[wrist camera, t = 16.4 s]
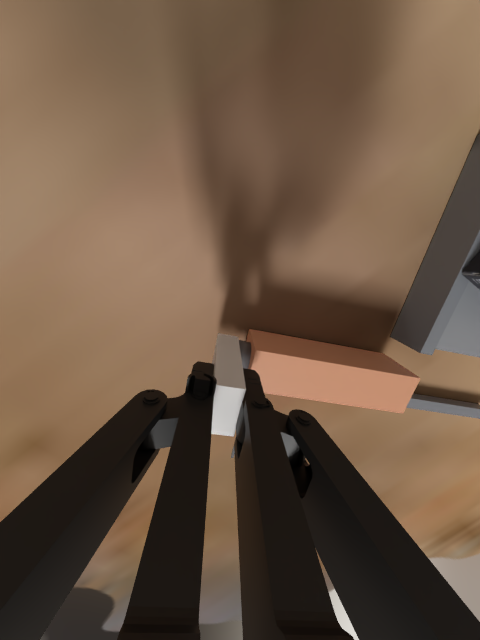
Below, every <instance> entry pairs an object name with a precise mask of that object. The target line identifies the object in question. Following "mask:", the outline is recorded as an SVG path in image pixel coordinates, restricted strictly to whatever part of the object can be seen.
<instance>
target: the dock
mask: <svg viewBox="0 0 480 640" xmlns="http://www.w3.org/2000/svg"><path fill="white" fill-rule="evenodd" d="M479 251H480V134H478V135H477V137H476V140H475V142H474V144H473V146H472V149H471V151H470V153H469V156H468V158H467V160H466V163H465V165H464V167H463V170H462V172H461V174H460V176H459V179H458V181H457V183H456V186H455V188H454V190H453V193H452V195H451V197H450V200H449V202H448V204H447V206H446V209H445V211H444V213H443V216H442V218H441V220H440V223H439V225H438V227H437V230H436V232H435V234H434V237H433V239H432V241H431V243H430V246H429V248H428V250H427V253H426V255H425V257H424V260H423V262H422V264H421V267H420V269H419V271H418V273H417V276H416V278H415V280H414V283H413V285H412V287H411V290H410V292H409V294H408V297H407V299H406V301H405V303H404V306H403V308H402V310H401V313H400V315H399V317H398V320H397V322H396V324H395V327H394V329H393V331H392V333H391V336H390V337H392V338H393V339H395V340H397V341H399V342H401V343H403V344H405V345H406V346H408V347H410V348H412V349H414V350H416V351H417V352H419V353H423V354H428V355H432V354H433V352H434V350H435V349H438V350H443V351H449V352H454V353H459V354H464V355H469V356H475V357H480V290H479V289H478V288H477V287H476V286H475V285H473V284H472V283H471V282H470V281H469V280H468V279H467V278H466V277H464V276H463V275H462V272H463V270H464V269H465V268H466V267H467V265H468V264H469V263H470V262H471V261H472V260H473V258H474V257H475V256H476V255H477V254H478V253H479ZM406 408H413V409H420V410H426V411H433V412H439V413H446V414H453V415H459V416H466V417H472V418H479V419H480V405H479V404H476V403H470V402H464V401H457V400H451V399H445V398H439V397H433V396H426V395H420V394H414V393H413V395H412V397H411V399H410V401H409V403H408V405H407V407H406Z"/></svg>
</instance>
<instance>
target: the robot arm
mask: <svg viewBox="0 0 480 640" xmlns="http://www.w3.org/2000/svg"><path fill="white" fill-rule="evenodd" d="M235 430H236V435H237V436H236V440H235V443H234V447H233V451H232V455H231V458H233V457H234V454H235V472H236V494H237V516H238V538H239V560H240V582H241V604H242V626H243V640H354V639H353V637H352V636H351V635H349V633H347V632H346V631H345V630H343V629H342V628H341V626H340V624H339V623H338V621H337V618H336V616H335V613H334V610H333V606H332V603H331V599H330V596H329V593H328V589H327V586H326V583H325V579H324V576H323V573H322V569H321V566H320V563H319V559H318V556H317V552H318V554H319V556H320V559H321V561H322V563H323V565H324V567H325V569H326V571H327V573H328V575H329V577H330V579H331V582H332V584H333V586H334V588H335V590H336V592H337V594H338V596H339V598H340V600H341V602H342V605H343V607H344V609H345V611H346V613H347V615H348V617H349V619H350V621H351V623H352V625H353V627H354V630H355V632H356V634H357V636H358V638H359V640H480V622H479V621H478V620H477V618H476V617H475V616H474V615H473V613H472V612H471V611H470V610H469V608H468V607H467V606H466V605H465V603H464V602H463V601H462V600H461V598H460V597H459V596H458V595H457V594H456V592H455V591H454V590H453V589H452V587H451V586H450V585H449V584H448V582H447V581H446V580H445V579H444V577H443V576H442V575H441V574H440V572H439V571H438V570H437V569H436V568H435V566H434V565H433V564H432V563H431V561H430V560H429V559H428V558H427V556H426V555H425V554H424V553H423V551H422V550H421V549H420V548H419V547H418V545H417V544H416V543H415V542H414V540H413V539H412V538H411V537H410V535H409V534H408V533H407V532H406V530H405V529H404V528H403V527H402V525H401V524H400V523H399V522H398V521H397V519H396V518H395V517H394V516H393V514H392V513H391V512H390V511H389V509H388V508H387V507H386V506H385V504H384V503H383V502H382V501H381V500H380V498H379V497H378V496H377V495H376V493H375V492H374V491H373V490H372V488H371V487H370V486H369V485H368V483H367V482H366V481H365V480H364V479H363V477H362V476H361V475H360V474H359V472H358V471H357V470H356V469H355V467H354V466H353V465H352V464H351V462H350V461H349V460H348V459H347V458H346V456H345V455H344V454H343V453H342V451H341V450H340V449H339V448H338V446H337V445H336V444H335V443H334V441H333V440H332V439H331V438H330V437H329V435H328V434H327V433H326V432H325V430H324V429H323V428H322V427H321V425H320V424H319V423H318V422H317V420H316V419H315V418H314V417H313V416H312V415H310V414H309V413H307V412H305V411H302V410H297V409H296V410H292V411H291V412H290V413H289V416H288V415H285V414H283V413H280V412H278V411H276V410H274V408H273V405H272V403H271V402H270V401H269V400H268V399H267V398H265V395H264V391H263V387H262V384H261V381H260V376H259V374H258V373H257V372H256V371H255V370H251V369H245V368H243V366H242V359H241V352H240V346H239V339H238V337H237V336H232V335H226V334H221V333H218V336H217V341H216V346H215V351H214V356H213V361H212V364H211V363H205V362H199V361H198V362H197V363H195V364H194V365H193V369H192V373H191V374H190V375H189V376H188V379H187V385H186V391H185V393H184V394H183V395H181V396H179V397H176V398H167V396H166V395H165V394H164V393H163V392H161V391H159V390H145V391H142V392H140V393H138V394H137V395H136V396H135V397H134V398H132V399H131V400H130V401H129V402H128V403H127V404H126V405H125V406H124V407H123V408H122V409H121V410H120V411H119V412H118V413H116V414H115V415H114V416H113V417H112V418H111V419H110V420H109V421H108V422H107V423H106V424H105V425H104V426H103V427H102V428H100V429H99V430H98V431H97V432H96V433H95V434H94V435H93V436H92V437H91V438H90V439H89V440H88V441H87V442H86V443H84V444H83V445H82V446H81V447H80V448H79V449H78V450H77V451H76V452H75V453H74V454H73V455H72V456H71V457H69V458H68V459H67V460H66V461H65V462H64V463H63V464H62V465H61V466H60V467H59V468H58V469H57V470H56V471H55V472H53V473H52V474H51V475H50V476H49V477H48V478H47V479H46V480H45V481H44V482H43V483H42V484H41V485H40V486H39V487H37V488H36V489H35V490H34V491H33V492H32V493H31V494H30V495H29V496H28V497H27V498H26V499H25V500H24V501H23V502H21V503H20V504H19V505H18V506H17V507H16V508H15V509H14V510H13V511H12V512H11V513H10V514H9V515H8V516H7V517H5V518H4V519H3V520H2V521H1V522H0V640H40V639H41V637H42V635H43V634H44V632H45V631H46V629H47V628H48V626H49V624H50V623H51V621H52V620H53V618H54V617H55V615H56V613H57V612H58V610H59V609H60V607H61V606H62V604H63V602H64V601H65V599H66V598H67V596H68V594H69V593H70V591H71V590H72V588H73V587H74V585H75V583H76V582H77V580H78V579H79V577H80V576H81V574H82V572H83V571H84V569H85V568H86V566H87V564H88V563H89V561H90V560H91V558H92V557H93V555H94V553H95V552H96V550H97V549H98V547H99V546H100V544H101V542H102V541H103V539H104V538H105V536H106V535H107V533H108V531H109V530H110V528H111V527H112V525H113V523H114V522H115V520H116V519H117V517H118V516H119V514H120V512H121V511H122V509H123V508H124V506H125V505H126V503H127V501H128V500H129V498H130V497H131V495H132V493H133V492H134V490H135V489H136V487H137V486H138V484H139V482H140V481H141V479H142V478H143V476H144V475H145V473H146V471H147V470H148V468H149V467H150V465H151V464H152V462H153V460H154V459H155V457H156V456H157V454H158V452H159V450H160V448H165V447H171V448H170V452H169V456H168V459H167V463H166V467H165V471H164V474H163V478H162V482H161V486H160V489H159V493H158V497H157V501H156V504H155V508H154V512H153V516H152V519H151V523H150V527H149V531H148V534H147V538H146V542H145V546H144V549H143V553H142V557H141V561H140V564H139V568H138V572H137V576H136V579H135V583H134V587H133V591H132V594H131V598H130V602H129V606H128V609H127V613H126V616H125V620H124V623H123V625H122V628H121V630H120V632H119V635H118V639H117V640H200V630H199V603H200V589H201V575H202V560H203V546H204V531H205V517H206V502H207V488H208V473H209V459H210V444H211V434H218V435H226V436H234V434H235ZM305 458H306V459H307V460H308V462H309V463H310V465H309V464H308V463H307V462H306V460H305ZM315 548H316V549H315ZM316 550H317V552H316Z"/></svg>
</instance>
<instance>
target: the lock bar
mask: <svg viewBox="0 0 480 640" xmlns="http://www.w3.org/2000/svg"><path fill="white" fill-rule="evenodd" d="M239 346H240V352H241V359H242V366H243V368H245V369H251V370H255V371H256V372H257V373H258V374H259V376H260V381H261V384H262V387H263V391H264V393H268V394H274V395H281V396H288V397H295V398H302V399H308V400H315V401H322V402H329V403H336V404H342V405H349V406H356V407H363V408H370V409H376V410H383V411H390V412H397V413H404V411H405V409H406V407H407V405H408V403H409V401H410V399H411V397H412V395H413V393H414V391H415V389H416V387H417V385H418V383H419V381H420V379H421V378H419V377H418V376H416V375H415V374H413V373H412V372H410V371H409V370H407V369H406V368H404V367H403V366H401V365H400V364H398V363H397V362H395V361H394V360H392V359H391V358H389V357H388V356H386V355H385V354H383V353H379V352H373V351H368V350H362V349H357V348H351V347H346V346H340V345H335V344H329V343H324V342H318V341H313V340H308V339H302V338H297V337H291V336H286V335H280V334H275V333H269V332H264V331H258V330H253V329H249V332H248V336H247V340H246V341H241V340H239Z"/></svg>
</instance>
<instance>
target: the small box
mask: <svg viewBox="0 0 480 640" xmlns="http://www.w3.org/2000/svg"><path fill="white" fill-rule="evenodd" d="M462 275H463V276H464V277H466V278H467V279H468V280H469V281H470V282H471V283H472V284H473V285H475V286H476V287H477V288H478V289H479V290H480V251H479V253H478V254H477V255H476V256H475V257H474V258H473V260H472V261H471V262H470V263H469V264H468V265H467V267H466V268H465V269H464V270H463V272H462Z"/></svg>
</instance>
